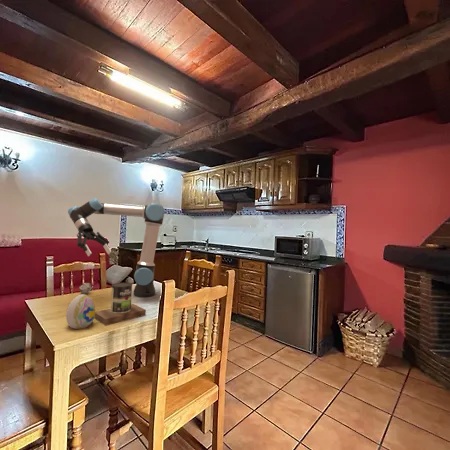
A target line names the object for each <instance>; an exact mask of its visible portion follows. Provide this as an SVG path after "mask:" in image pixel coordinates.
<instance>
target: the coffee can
mask: <svg viewBox="0 0 450 450" xmlns="http://www.w3.org/2000/svg"><path fill="white" fill-rule="evenodd" d="M132 290H133V283H130V282H116V283H112V284H111V301H110V309H111V312H112V313H116V314H121V313H127V312H129V311H131V304H132V295H133V293H132V292H133V291H132Z"/></svg>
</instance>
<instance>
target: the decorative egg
mask: <svg viewBox="0 0 450 450" xmlns="http://www.w3.org/2000/svg"><path fill="white" fill-rule="evenodd" d="M66 309H67V310H66V313H65V316H66V317H65V319H66V323H67V325H68V326H69V327H70V328H71V329H74V330H75V329H76V330H79V329H80V330H81V329H85V328H87V327H90V325H92V323H93V321H94V320H95V318H94V317H95V312H96V306H95V303H94V301H93V299H92V298H91V297H90V296H89V295H88V294H85V293H80V294H79V295H76V296H75V297H74V298H73V299H72V300H71V302H69V305H68V307H67V308H66Z"/></svg>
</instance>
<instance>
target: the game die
mask: <svg viewBox="0 0 450 450" xmlns="http://www.w3.org/2000/svg"><path fill="white" fill-rule="evenodd" d="M91 283H92V282H85V281H84V282H83V283H82V284H81V285H80V286H77V288H79V291H80V294H84V295H88V294H89V292H90V291H92V290H93V287H92V285H91Z"/></svg>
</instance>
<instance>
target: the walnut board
mask: <svg viewBox="0 0 450 450" xmlns="http://www.w3.org/2000/svg"><path fill="white" fill-rule="evenodd" d="M146 313H147V312H146V309H145V308H143V307H140V306H138V305H137V304H134V303H131V311H129V312H127V313H121V314H116V313H112V312H111V308H106V309H101V310H97V311H96V310H95V317H94V320H97V321H98V322H99V323H100V324H102V325H104V326H107V325H110V324H111V325H112V324H115V323H116V324H117V323H119V322H124V321H127V320H132V319H136V318H140V317H145V316H146Z"/></svg>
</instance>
